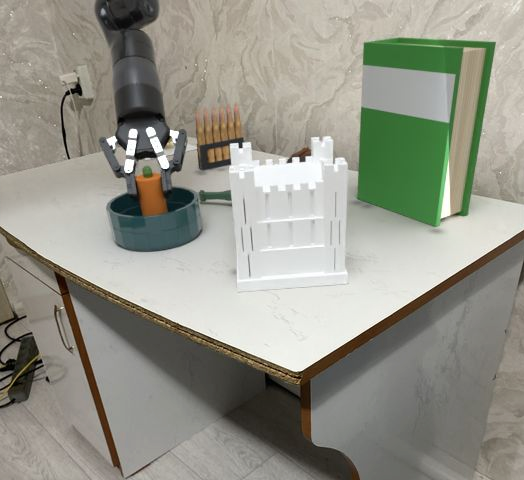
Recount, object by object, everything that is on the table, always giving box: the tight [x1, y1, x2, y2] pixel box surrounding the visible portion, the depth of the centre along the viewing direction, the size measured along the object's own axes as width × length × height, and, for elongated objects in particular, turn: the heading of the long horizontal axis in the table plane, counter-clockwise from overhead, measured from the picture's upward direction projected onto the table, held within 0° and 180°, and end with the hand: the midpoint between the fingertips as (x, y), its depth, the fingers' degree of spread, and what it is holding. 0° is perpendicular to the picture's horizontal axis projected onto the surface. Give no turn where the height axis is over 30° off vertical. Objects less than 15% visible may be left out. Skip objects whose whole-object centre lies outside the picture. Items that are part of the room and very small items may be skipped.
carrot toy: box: [135, 165, 168, 216], centre depth 83 cm, size 4×4×9 cm
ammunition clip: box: [195, 102, 245, 171], centre depth 114 cm, size 11×2×12 cm, turn 118°
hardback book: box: [356, 36, 497, 228], centre depth 83 cm, size 18×7×24 cm, turn 34°
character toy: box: [144, 139, 197, 161], centre depth 131 cm, size 8×3×8 cm
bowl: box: [105, 185, 203, 252], centre depth 85 cm, size 14×14×6 cm
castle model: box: [228, 135, 349, 293], centre depth 70 cm, size 14×14×15 cm
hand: (151, 197), depth 81 cm, fingers closed on carrot toy, 4 cm apart
